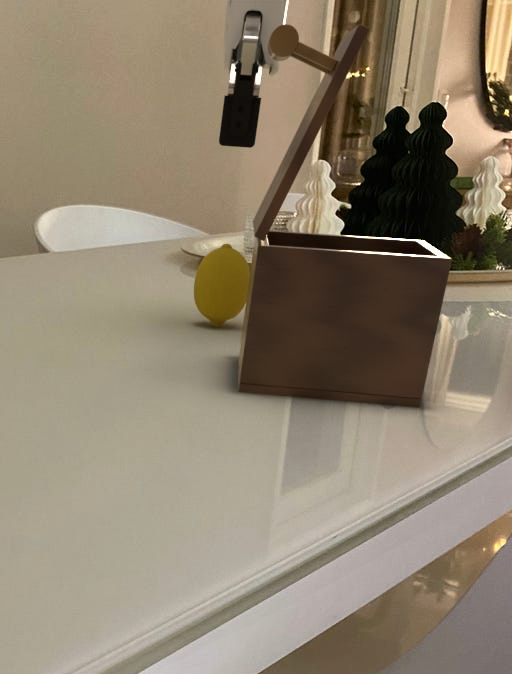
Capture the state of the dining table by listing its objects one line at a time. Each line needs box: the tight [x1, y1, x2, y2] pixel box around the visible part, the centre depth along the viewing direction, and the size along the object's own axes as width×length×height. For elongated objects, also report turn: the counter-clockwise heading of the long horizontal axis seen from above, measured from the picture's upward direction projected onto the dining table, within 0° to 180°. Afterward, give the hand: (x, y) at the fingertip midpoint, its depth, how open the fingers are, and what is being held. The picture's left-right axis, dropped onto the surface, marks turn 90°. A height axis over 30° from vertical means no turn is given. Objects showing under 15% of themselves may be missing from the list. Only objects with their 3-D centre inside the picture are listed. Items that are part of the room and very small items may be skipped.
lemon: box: [193, 243, 251, 328], centre depth 104 cm, size 6×6×8 cm
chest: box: [237, 229, 453, 409], centre depth 83 cm, size 14×13×11 cm
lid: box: [252, 23, 370, 241], centre depth 78 cm, size 14×13×6 cm
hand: (236, 145), depth 98 cm, fingers open, 9 cm apart
